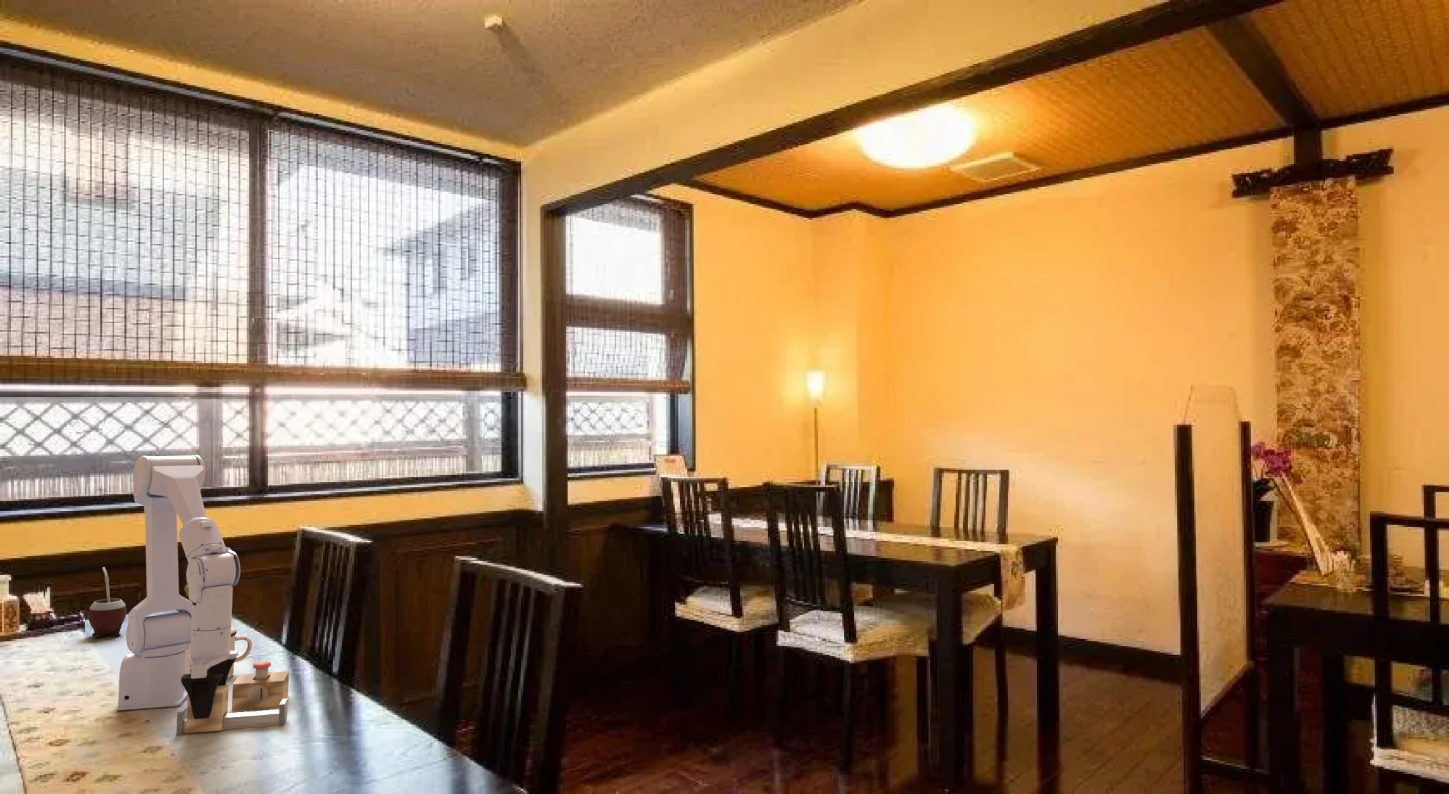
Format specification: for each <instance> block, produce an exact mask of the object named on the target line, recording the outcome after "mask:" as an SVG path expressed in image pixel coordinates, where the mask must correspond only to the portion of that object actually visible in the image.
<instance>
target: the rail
mask: <svg viewBox="0 0 1449 794" xmlns="http://www.w3.org/2000/svg"><path fill="white" fill-rule="evenodd" d="M288 699H289V698H288V697H287V698H286V699H282V701H281V703H280V704H279V707H278V708H279V709H269V710H255V711H254V710H253V711H243V712H231V713H230V712H229V713H228V712H227V714H224V715H223V728H222V730H221V731H228V730H237V729H249V728H250V729H252V728H260V727H261V728H262V727H263V728H264V727H274V726H278V727H285V725H286V722H287V720H288V701H289V700H288ZM186 726H187V705H183V706H181V707H180V709H179V710H178V711H177V713H176V731H175V732H176V736H177V735H178V736H180V735H183V734H187V733H186Z"/></svg>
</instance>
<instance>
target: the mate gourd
mask: <svg viewBox="0 0 1449 794" xmlns="http://www.w3.org/2000/svg"><path fill="white" fill-rule="evenodd" d="M101 570H102V571H103V573H104V575H103V576H104V582H105V587H106V590H105V591H106V599H98V600H95V601H93V603H92V604H91V606H90V607H89V610H88V614H87V619H88V622H89V624H90V627H91V628H92V629H93V633H91V635H92V637H94V639H95V640H101V639H104V638H107V637H113V638H114V637H116V638H117V637H121V636H122V633H121V629H122V626H123V624H124V622H125V619H126V617H127V607H126V603H125V602H124V601H123V600H122V598H121V599H120V598H111V595H110V594H111V593H110V584H109V583H110V579H109V576H108V572H107V569H106V567H105V566H103V567H101Z"/></svg>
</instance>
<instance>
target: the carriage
mask: <svg viewBox="0 0 1449 794" xmlns="http://www.w3.org/2000/svg"><path fill="white" fill-rule="evenodd" d="M229 687H230V686H229V684H226V685H223V686H217V689H216V692H215V696H214V701H213V707H212V711H211V714H210V717H209V718H203V719H194V717H193V713H192V708H191V703H190V699H189V696H187V701H186V702H187V704H186V706H187V726H186V733H185V734H192V733H205V732H214V731H223V730H222V728H223V715H224V714H227V713H228V708H229Z"/></svg>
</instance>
